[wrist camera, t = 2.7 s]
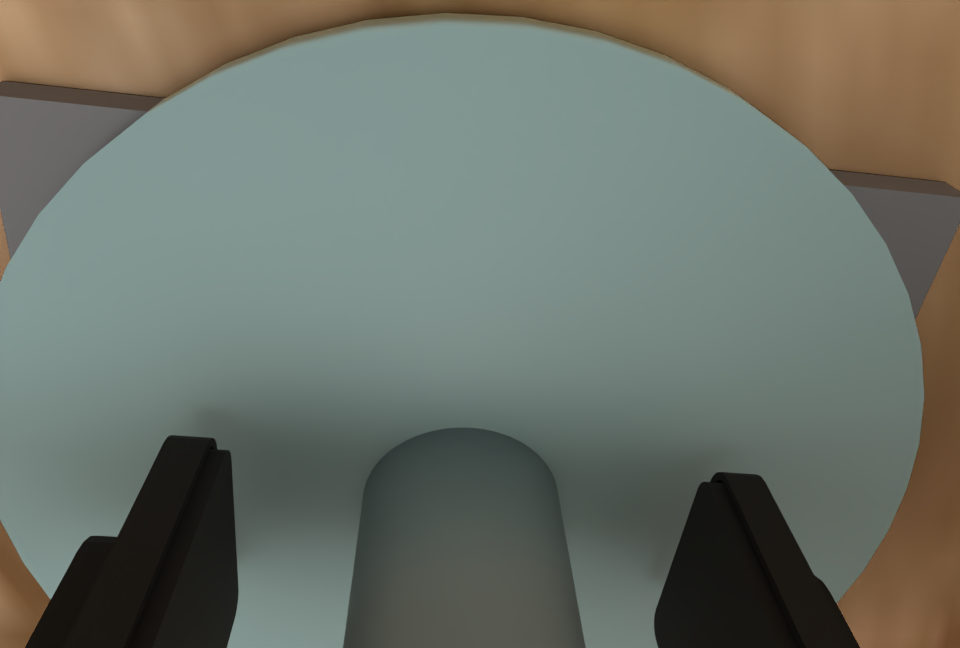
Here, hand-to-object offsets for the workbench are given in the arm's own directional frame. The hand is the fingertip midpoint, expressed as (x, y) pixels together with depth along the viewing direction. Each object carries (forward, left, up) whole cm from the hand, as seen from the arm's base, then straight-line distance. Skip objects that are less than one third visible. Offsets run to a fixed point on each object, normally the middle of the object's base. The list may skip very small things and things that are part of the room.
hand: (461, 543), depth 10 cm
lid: (0, 0, -2) cm, 2 cm away
